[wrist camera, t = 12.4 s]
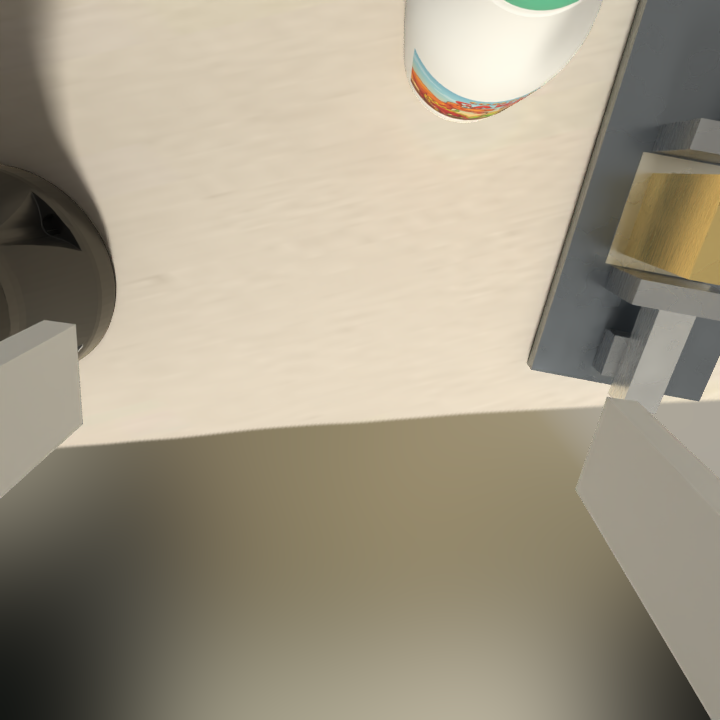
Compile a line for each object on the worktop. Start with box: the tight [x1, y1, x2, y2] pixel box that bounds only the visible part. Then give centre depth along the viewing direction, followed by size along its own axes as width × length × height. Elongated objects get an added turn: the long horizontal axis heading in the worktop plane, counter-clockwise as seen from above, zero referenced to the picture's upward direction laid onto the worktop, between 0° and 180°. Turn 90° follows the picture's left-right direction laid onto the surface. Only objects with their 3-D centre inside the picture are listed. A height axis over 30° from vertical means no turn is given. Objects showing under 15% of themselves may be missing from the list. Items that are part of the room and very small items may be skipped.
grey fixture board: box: [527, 0, 720, 414], centre depth 31 cm, size 12×23×6 cm, turn 170°
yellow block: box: [624, 173, 720, 285], centre depth 29 cm, size 5×5×8 cm
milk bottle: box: [404, 0, 602, 123], centre depth 22 cm, size 8×8×20 cm
